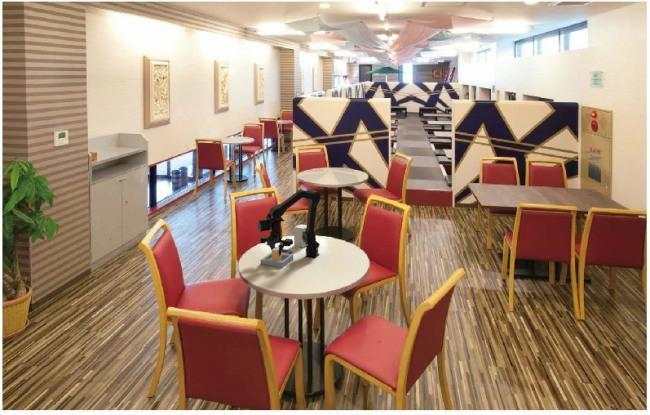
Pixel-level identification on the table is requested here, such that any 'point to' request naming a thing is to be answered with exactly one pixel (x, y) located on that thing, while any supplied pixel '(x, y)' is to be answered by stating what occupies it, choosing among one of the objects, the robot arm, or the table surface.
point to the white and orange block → (276, 254)
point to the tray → (280, 263)
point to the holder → (287, 251)
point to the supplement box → (299, 235)
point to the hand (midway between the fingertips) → (276, 255)
